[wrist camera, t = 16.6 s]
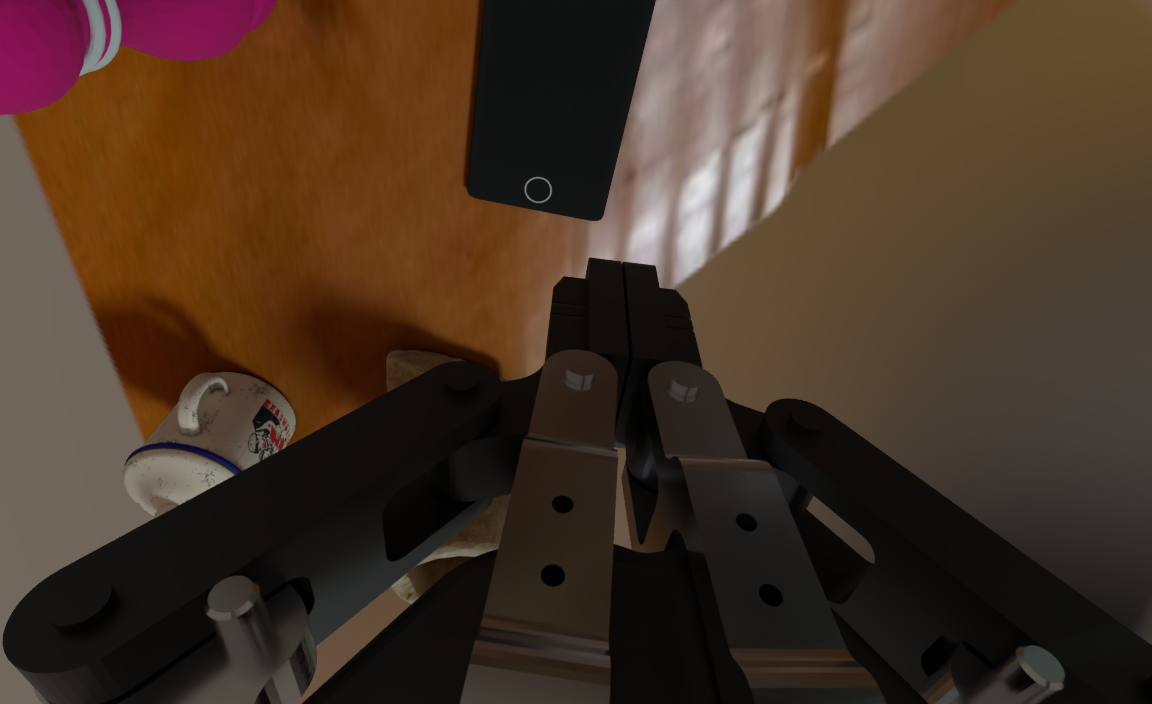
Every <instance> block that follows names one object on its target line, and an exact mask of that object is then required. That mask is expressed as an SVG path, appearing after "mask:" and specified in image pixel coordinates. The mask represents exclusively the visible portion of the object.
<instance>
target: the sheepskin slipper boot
mask: <svg viewBox="0 0 1152 704" xmlns="http://www.w3.org/2000/svg"><path fill="white" fill-rule="evenodd" d="M452 361H465V360H463V359H460V358H453V357H449V356H447V355H442V354H438V353H435V352H422V351H419V350H394V351H391V352H389V354H388V356H387V357H386V373H387V392H389V391H391V390H393V389H395V388H397V387H399V386H400V385H402V384H404V383H406V382H408V381H410V380H411V379H413V378H415V377H417V376H419V375H421V374H423V373H424V372H426V371H428V370H430V369H432V368H434V367H436V366H438V365H440V364H443V363H447V362H452ZM498 377H499V376H498ZM499 378H500V380H501V382H502V381H507V380H505V379H503V378H501V377H499ZM509 500H510V494H509V495H503V496H498V497H494V499H493V501H492V503H491V504H490V506H489V507H488V508H487V509H486V510H485V511H484V512H483V513H481V514H480V515H479V516H478V517H476V518H475V519H474V520H473V521H471V522H470V523H469V524H468V525H466V526H465V527H464V528H463V529H461V530H460V531H459V532H458V533H456V534H455V535H454V536H453V537H452V538H450V539H449V540H448V541H447V542H445V543H444V544H443V545H442V546H440V547H439V548H438V549H437V550H435V551H434V552H433V553H432V554H430V555H429V556H428V557H427V558H425V559H424V560H423V561H422V562H420V563H419V564H418V565H417V566H415V567H414V568H413V569H412V570H410V571H409V572H408V573H407V574H405V575H404V576H403V577H402V578H400V579H399V580H398V581H397V582H395V583H394V584H393V585H392V586H391V587H392V589H393V590H394V592H395V593H396V594H397V595H398V596H399V597H400V598H402V599H403V600H405V601H406V602H408V603H410V604H412V603H413V602H414V601H416V600H417V599H418V598H419V597H420V596H421V595H422V594H423V593H424V592H425V591H427V590H428V589H429V588H430V587H431V586H432V585H433V584H434V583H435V582H436V581H438V580H439V579H440V578H441V577H442V576H444V575H445V574H446V573H448V572H449V571H451V570H452V569H454V568H455V567H456V566H458V565H460V564H462V563H464V562H466V561H467V560H469V559H471V558H473V557H476V556H478V555H481V554H483V553H486V552H489V551H492V550H496V549H498V548H499V543H500V539H501V535H502V530H503V526H504V522H505V517H506V513H507V509H508V504H509Z"/></svg>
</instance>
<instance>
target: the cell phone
mask: <svg viewBox="0 0 1152 704" xmlns="http://www.w3.org/2000/svg"><path fill="white" fill-rule="evenodd" d="M655 1H656V0H485V2H484V13H483V24H482V35H481V46H480V57H479V67H478V78H477V89H476V100H475V111H474V122H473V132H472V143H471V154H470V165H469V176H468V187H467V191H468V193H469V195H470V196H472V197H474V198H477V199H481V200H486V201H491V202H496V203H502V204H507V205H512V206H517V207H522V208H527V209H533V210H538V211H543V212H548V213H553V214H558V215H564V216H569V217H574V218H579V219H584V220H590V221H598V220H601V219H602V217H603V215H604V211H605V207H606V203H607V198H608V194H609V190H610V186H611V182H612V178H613V174H614V170H615V166H616V161H617V157H618V153H619V149H620V145H621V141H622V137H623V133H624V129H625V125H626V120H627V116H628V112H629V108H630V104H631V100H632V96H633V92H634V88H635V84H636V79H637V75H638V71H639V67H640V63H641V59H642V55H643V51H644V47H645V42H646V38H647V34H648V30H649V26H650V22H651V18H652V14H653V10H654V6H655Z"/></svg>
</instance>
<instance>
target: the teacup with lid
mask: <svg viewBox="0 0 1152 704" xmlns="http://www.w3.org/2000/svg"><path fill="white" fill-rule="evenodd" d="M295 425H296V420H295V414H294V411H293V409H292V407H291V405H290V404H289V402H288V401H287V400H286V398H285V397H284V396H283V395H282V394H281V393H280V392H278V391H277V390H276V389H275V388H273V387H272V386H270V385H269V384H267V383H265V382H263V381H261V380H259V379H257V378H254V377H252V376H249V375H245V374H241V373H235V372H217V373H208V372H207V373H201V374H199V375H197V376H195V377H194V378H193V379H191V380H190V381H189V382H188V384H187V385H186V386H185V388H184V389H183V391H182V393H181V395H180V398H179V402H178V403H177V404H176V405H175V407H174V408H173V409H172V410H171V412H170V413H169V414H168V415H167V416H166V418H165V419H164V420H163V421H162V423H161V424H160V425H159V426H158V427H157V429H156V430H155V431H154V432H153V434H152V435H151V436H150V437H149V439H148V440H147V441H146V442H145V443H144V445H143V446H142V447H141V448H139V449H137V450H135V451H134V452H133V453H132V454H131V455H130V456H129V457H128V459H127V460H126V463H125V467H124V470H123V482H124V485H125V487H126V490H127V492H128V493H129V495H130V496H131V497H132V499H133V500H134V501H135V502H136V503H137V504H138V505H139V506H140V507H142V508H143V509H144V510H146V511H147V512H149V513H150V514H152V515H154V518H156V517H158V516H160V515H162V514H164V513H166V512H167V511H169V510H171V509H173V508H175V507H177V506H178V505H180V504H182V503H184V502H186V501H188V500H190V499H191V498H193V497H195V496H197V495H199V494H201V493H203V492H204V491H206V490H208V489H210V488H212V487H214V486H215V485H217V484H219V483H221V482H223V481H225V480H227V479H228V478H230V477H232V476H234V475H236V474H238V473H239V472H241V471H243V470H245V469H247V468H249V467H251V466H252V465H254V464H256V463H258V462H260V461H262V460H264V459H265V458H267V457H269V456H271V455H273V454H275V453H276V452H278V451H280V450H282V449H284V448H285V447H286V445H287V443H288V442H289V440H290V438H291V436H292V434H293V432H294V430H295Z"/></svg>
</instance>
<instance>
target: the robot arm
mask: <svg viewBox="0 0 1152 704" xmlns="http://www.w3.org/2000/svg"><path fill="white" fill-rule="evenodd" d="M690 319H691V316H690V312H689V308H688V304H687V302H686V301H685V300H684V299H683V298H682V297H681V296H680V295H679V293H678V292H677V291H676V290H673V289H665V288H659V282H658V277H657V271H656V267H655V266H654V265H646V264H638V263H630V262H623V263H621V261H613V260H605V259H597V258H589V260H588V265H587V271H586V277H585V279H582V278H574V277H565V276H564V277H563V278H562V279H561V280H560V281H559V282H558V283H557V284H556V285H555V286H554V288H553V296H552V304H551V312H550V320H549V328H548V337H547V345H546V356H545V363H544V365H543V366H542V367H541V368H540V369H539V370H538V371H537V372H535V373H534V374H532V375H530V376H528V377H525V378H521V379H517V380H510V381H502V382H501V380H500V378H499V377H498V375H497V374H496V373H495V372H494V371H493V370H491V369H490V368H488V367H486V366H484V365H482V364H479V363H475V362H470V361H452V362H447V363H443V364H440V365H438V366H436V367H434V368H432V369H430V370H428V371H426V372H424V373H423V374H421V375H419V376H417V377H415V378H413V379H411V380H410V381H408V382H406V383H404V384H402V385H400V386H399V387H397V388H395V389H393V390H391V391H389V392H387V393H386V394H384V395H382V396H380V397H378V398H376V399H374V400H373V401H371V402H369V403H367V404H365V405H363V406H362V407H360V408H358V409H356V410H354V411H352V412H350V413H349V414H347V415H345V416H343V417H341V418H339V419H338V420H336V421H334V422H332V423H330V424H328V425H326V426H325V427H323V428H321V429H319V430H317V431H315V432H313V433H312V434H310V435H308V436H306V437H304V438H302V439H301V440H299V441H297V442H295V443H293V444H291V445H289V446H288V447H286V448H284V449H282V450H280V451H278V452H276V453H275V454H273V455H271V456H269V457H267V458H265V459H264V460H262V461H260V462H258V463H256V464H254V465H252V466H251V467H249V468H247V469H245V470H243V471H241V472H239V473H238V474H236V475H234V476H232V477H230V478H228V479H227V480H225V481H223V482H221V483H219V484H217V485H215V486H214V487H212V488H210V489H208V490H206V491H204V492H203V493H201V494H199V495H197V496H195V497H193V498H191V499H190V500H188V501H186V502H184V503H182V504H180V505H178V506H177V507H175V508H173V509H171V510H169V511H167V512H166V513H164V514H162V515H160V516H158V517H156V518H154V519H153V520H151V521H149V522H147V523H145V524H143V525H141V526H140V527H138V528H136V529H134V530H132V531H130V532H129V533H127V534H125V535H123V536H121V537H119V538H118V539H116V540H114V541H112V542H110V543H108V544H107V545H104V546H103V547H101V548H99V549H97V550H95V551H93V552H92V553H90V554H88V555H86V556H84V557H82V558H80V559H79V560H77V561H75V562H73V563H71V564H69V565H68V566H66V567H64V568H62V569H60V570H59V571H57V572H55V573H54V574H52V575H50V576H49V577H47V578H46V579H44V580H43V581H42V582H40V583H39V584H38V585H37V586H36V587H34V588H33V589H32V590H31V591H30V592H29V593H28V594H27V595H26V596H25V597H24V598H23V599H22V600H21V601H20V602H19V604H18V605H17V606H16V608H15V609H14V611H13V612H12V614H11V616H10V618H9V620H8V622H7V624H6V627H5V630H4V633H3V648H4V652H5V654H6V656H7V658H8V660H9V661H10V662H11V663H12V664H13V665H14V666H15V667H16V668H17V669H18V670H19V671H20V672H21V674H23V676H24V677H25V678H26V679H27V680H28V681H29V682H30V683H31V684H32V685H33V686H34V691H35V693H36V695H37V697H38V699H39V700H40V701H41V702H42V703H43V704H295V703H296V702H297V701H298V700H299V699H300V698H301V697H302V695H303V694H304V693H305V691H306V690H307V689H308V687H309V685H310V683H311V681H312V679H313V677H314V673H315V671H316V666H317V648H316V646H317V645H318V644H319V643H320V642H322V641H323V640H324V639H326V638H327V637H328V636H329V635H331V634H332V633H333V632H334V631H335V630H337V629H338V628H339V627H340V626H342V625H343V624H344V623H346V621H348V620H349V619H350V618H352V617H353V616H354V615H355V614H357V613H358V612H359V611H360V610H362V609H363V608H364V607H365V606H367V605H368V604H369V603H370V602H372V601H373V600H374V599H375V598H377V597H378V596H379V595H380V594H382V593H383V592H384V591H385V590H387V589H388V588H389V587H390V586H392V585H393V584H394V583H395V582H397V581H398V580H399V579H400V578H402V577H403V576H404V575H405V574H407V573H408V572H409V571H410V570H412V569H413V568H414V567H415V566H417V565H418V564H419V563H420V562H422V561H423V560H424V559H425V558H427V557H428V556H429V555H430V554H432V553H433V552H434V551H435V550H437V549H438V548H439V547H440V546H442V545H443V544H444V543H445V542H447V541H448V540H449V539H450V538H452V537H453V536H454V535H455V534H456V533H458V532H459V531H460V530H461V529H463V528H464V527H465V526H466V525H468V524H469V523H470V522H471V521H473V520H474V519H475V518H476V517H478V516H479V515H480V514H481V513H483V512H484V511H485V510H486V509H487V508H488V507H489V506H490V504H491V503H492V501H493V499H494V497H498V496H503V495H509V494H511V496H510V500H509V504H508V509H507V513H506V517H505V522H504V526H503V530H502V535H501V539H500V543H499V548H498V549H496V550H492V551H489V552H486V553H483V554H481V555H478V556H476V557H473V558H471V559H469V560H467V561H466V562H464V563H462V564H460V565H458V566H456V567H455V568H454V569H452V570H451V571H449V572H448V573H446V574H445V575H444V576H442V577H441V578H440V579H439V580H438V581H436V582H435V583H434V584H433V585H432V586H431V587H430V588H429V589H428V590H427V591H425V592H424V593H423V594H422V595H421V596H420V597H419V598H418V599H417V600H416V601H414V602H413V603H412V604H411V605H410V606H409V607H408V608H407V609H406V610H404V611H403V612H402V613H401V614H400V615H399V616H398V617H397V618H396V619H395V620H394V621H393V622H391V623H390V624H389V625H388V626H387V627H386V628H385V629H384V630H382V631H381V632H380V633H379V634H378V635H377V636H376V637H375V638H374V639H373V640H371V641H370V642H369V643H368V644H367V645H366V646H365V647H364V648H363V649H362V650H360V651H359V652H358V653H357V654H356V655H355V656H354V657H353V658H352V659H351V660H349V661H348V662H347V663H346V664H345V665H344V666H343V667H342V668H341V669H340V670H338V671H337V672H336V673H335V674H334V675H333V676H332V677H331V678H330V679H328V681H326V682H325V683H324V684H323V685H322V686H321V687H320V688H319V689H318V690H316V691H315V692H314V693H313V694H312V695H311V696H310V697H309V698H308V699H306V700H305V702H303V703H302V704H1152V645H1151V644H1149V643H1148V642H1147V641H1145V640H1144V639H1142V638H1141V637H1140V636H1138V635H1137V634H1135V633H1134V632H1133V631H1131V630H1130V629H1128V628H1127V627H1126V626H1124V625H1123V624H1121V623H1120V622H1119V621H1117V620H1116V619H1115V618H1113V617H1112V616H1110V615H1109V614H1108V613H1106V612H1105V611H1103V610H1102V609H1100V608H1099V607H1098V606H1096V605H1095V604H1094V603H1092V602H1091V601H1089V600H1088V599H1086V598H1085V597H1084V596H1083V595H1081V594H1080V593H1078V592H1077V591H1076V590H1074V589H1073V588H1071V587H1070V586H1068V585H1067V584H1066V583H1064V582H1063V581H1062V580H1060V579H1059V578H1057V577H1056V576H1055V575H1053V574H1052V573H1051V572H1049V571H1048V570H1046V569H1045V568H1044V567H1042V566H1041V565H1039V564H1038V563H1037V562H1035V561H1034V560H1032V559H1031V558H1030V557H1028V556H1027V555H1025V554H1024V553H1022V552H1021V551H1020V550H1019V549H1017V548H1016V547H1014V546H1013V545H1012V544H1010V543H1009V542H1007V541H1006V540H1004V539H1003V538H1002V537H1000V536H999V535H998V534H996V533H995V532H993V531H992V530H991V529H989V528H988V527H986V526H985V525H984V524H982V523H981V522H979V521H978V520H977V519H975V518H974V517H972V516H971V515H970V514H968V513H967V512H965V511H964V510H963V509H961V508H960V507H958V506H957V505H956V504H954V503H953V502H952V501H950V500H949V499H948V498H946V497H945V496H943V495H942V494H941V493H939V492H938V491H936V490H935V489H934V488H932V487H931V486H929V485H928V484H927V483H925V482H924V481H922V480H921V479H920V478H918V477H917V476H916V475H914V474H913V473H911V472H910V471H909V470H907V469H906V468H904V467H903V466H902V465H900V464H899V463H897V462H896V461H895V460H893V459H892V458H890V457H889V456H888V455H886V454H885V453H883V452H882V451H881V450H879V449H878V448H877V447H875V446H874V445H872V444H871V443H870V442H868V441H867V440H865V439H864V438H863V437H861V436H860V435H858V434H857V433H856V432H854V431H853V430H852V429H850V428H849V427H847V426H846V425H845V424H843V423H842V422H840V421H839V420H838V419H836V418H835V417H834V416H832V415H831V414H829V413H828V412H826V411H825V410H823V409H822V408H820V407H818V406H816V405H814V404H812V403H809V402H806V401H803V400H798V399H789V398H788V399H780V400H776V401H774V402H772V403H771V404H770V405H769V406H768V407H767V409H766V412H765V413H762V412H760V411H756V410H754V409H751V408H748V407H745V406H742V405H739V404H737V403H734V402H732V401H730V400H728V399H726V398H725V397H724V394H723V391H722V389H721V386H720V384H719V382H718V381H717V380H716V378H715V377H714V376H713V375H712V374H710V373H709V372H708V371H706V370H704V369H703V367H702V363H701V358H700V354H699V350H698V346H697V342H696V337H695V333H694V332H693V325H692V321H691V320H690ZM614 447H618V448H626V461H625V465H624V469H623V473H622V486H623V493H624V499H625V506H626V513H627V520H628V527H629V533H630V540H631V547H632V550H631V549H628V548H625V547H622V546H619V545H615V544H614V526H615V507H616V485H617V467H618V451H617V450H615V449H614ZM813 496H815V497H816V498H818V499H819V500H820V501H821V502H822V503H824V504H825V505H826V506H827V507H829V508H830V509H831V510H832V511H833V512H834V513H836V514H837V515H838V516H839V517H840V518H842V519H843V520H844V521H845V522H846V523H848V524H849V525H850V526H851V527H853V528H854V529H855V530H856V531H857V532H859V533H860V534H861V535H862V536H863V537H864V538H865V539H866V540H867V541H868V542H869V544H870V545H871V547H872V549H873V551H874V554H875V562H874V564H873V563H870V562H868V561H867V560H865V559H864V558H863V557H862V556H860V555H859V554H858V553H857V552H856V551H855V550H853V549H852V548H851V547H850V546H848V544H846V543H845V542H844V541H843V540H842V539H841V538H839V537H838V536H837V535H836V534H835V533H834V532H832V531H831V530H830V529H829V528H828V527H826V526H825V525H824V524H823V523H822V522H821V521H819V520H818V519H817V518H816V517H814V515H812V514H811V513H810V512H809V511H808V510H807V509H806V508H807V507H808V505H809V503H810V501H811V500H812V498H813Z"/></svg>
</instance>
